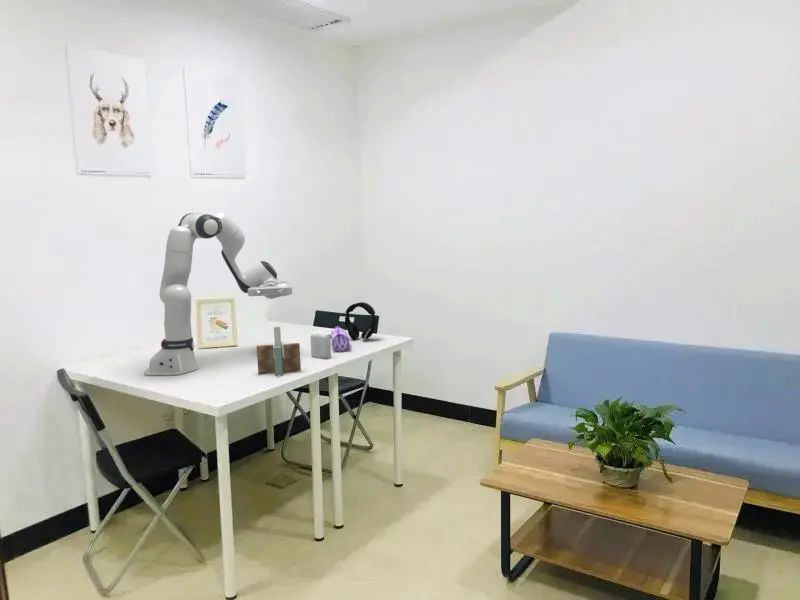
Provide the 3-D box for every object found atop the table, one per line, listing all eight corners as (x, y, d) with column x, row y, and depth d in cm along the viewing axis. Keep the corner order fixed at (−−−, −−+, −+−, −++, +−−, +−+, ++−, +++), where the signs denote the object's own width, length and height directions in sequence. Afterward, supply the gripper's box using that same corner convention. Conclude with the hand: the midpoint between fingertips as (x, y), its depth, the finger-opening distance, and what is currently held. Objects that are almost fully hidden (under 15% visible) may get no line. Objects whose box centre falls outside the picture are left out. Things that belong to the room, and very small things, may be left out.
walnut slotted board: (258, 374, 265) (256, 346, 263) (258, 372, 267) (256, 345, 265) (300, 371, 267) (299, 344, 265) (300, 370, 269) (299, 343, 268)
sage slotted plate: (275, 375, 261) (272, 329, 258) (277, 368, 273) (274, 324, 270) (282, 375, 261) (279, 329, 258) (283, 368, 273) (281, 323, 270)
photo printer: (332, 357, 291) (331, 331, 289) (326, 359, 287) (325, 333, 285) (316, 355, 296) (314, 329, 295) (309, 357, 293) (308, 331, 291)
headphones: (343, 340, 328) (341, 303, 325) (351, 337, 334) (349, 301, 331) (371, 343, 319) (370, 304, 316) (379, 340, 326) (378, 302, 323)
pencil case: (329, 343, 321) (328, 326, 320) (347, 342, 323) (346, 324, 321) (332, 353, 299) (331, 334, 298) (351, 352, 301) (351, 333, 300)
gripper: (248, 283, 293) (245, 287, 280) (292, 281, 296) (291, 285, 282) (249, 296, 294) (246, 301, 281) (293, 294, 297) (292, 298, 283)
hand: (269, 293), depth 281 cm, fingers open, 8 cm apart
